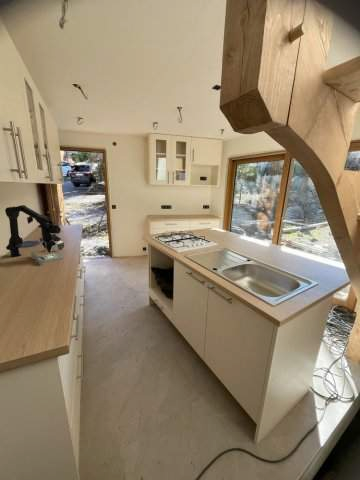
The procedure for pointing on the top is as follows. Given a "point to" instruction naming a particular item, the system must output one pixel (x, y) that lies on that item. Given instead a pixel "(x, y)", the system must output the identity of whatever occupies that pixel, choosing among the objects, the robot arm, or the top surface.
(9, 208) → the robot arm
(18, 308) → the top surface
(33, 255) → the gray wall
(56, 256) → the resting mat
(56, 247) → the medicine bottle
